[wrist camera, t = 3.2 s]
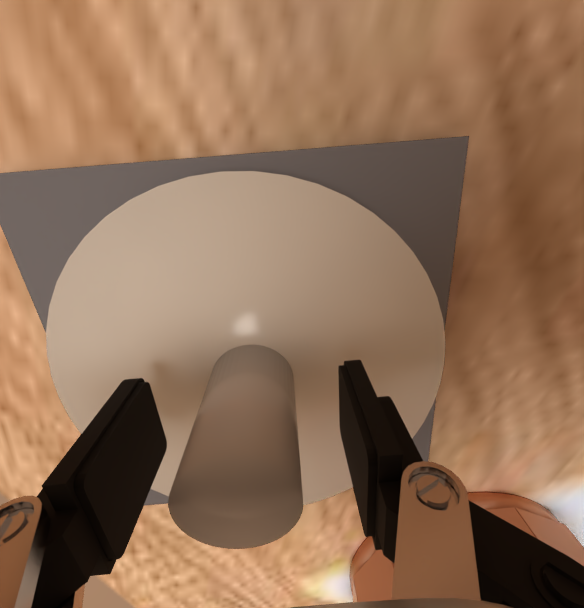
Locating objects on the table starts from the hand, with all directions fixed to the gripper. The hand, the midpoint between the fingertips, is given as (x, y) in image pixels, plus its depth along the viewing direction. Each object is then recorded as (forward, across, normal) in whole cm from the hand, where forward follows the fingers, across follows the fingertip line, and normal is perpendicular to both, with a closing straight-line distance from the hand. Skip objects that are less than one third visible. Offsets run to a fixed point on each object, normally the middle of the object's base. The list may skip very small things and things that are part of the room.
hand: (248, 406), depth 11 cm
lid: (+3, 0, 0) cm, 3 cm away
